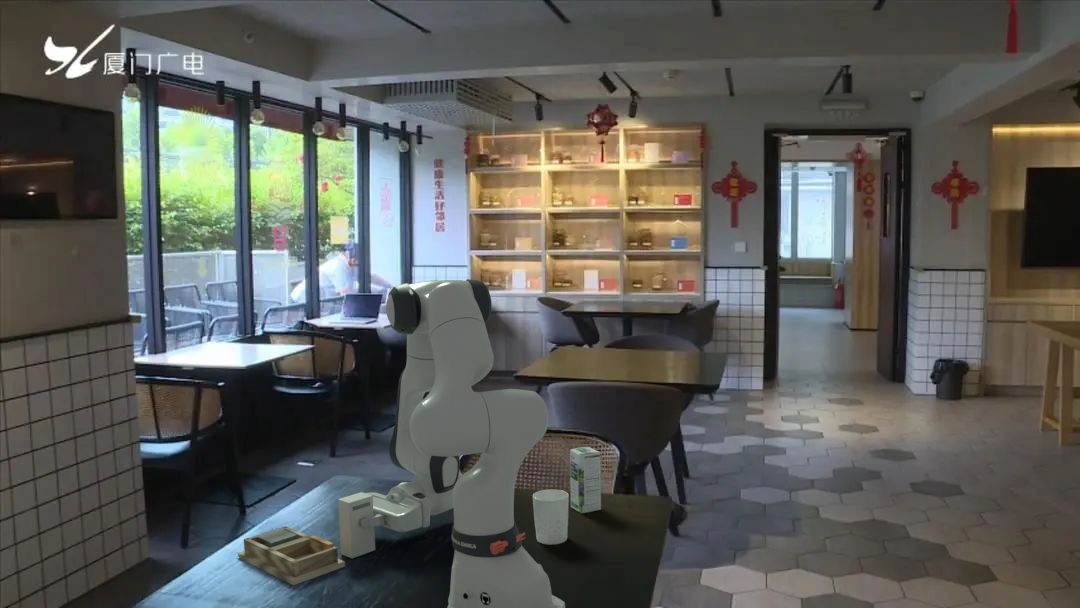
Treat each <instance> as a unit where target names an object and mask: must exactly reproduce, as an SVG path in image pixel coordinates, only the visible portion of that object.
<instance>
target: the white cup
mask: <svg viewBox="0 0 1080 608" xmlns="http://www.w3.org/2000/svg"><path fill="white" fill-rule="evenodd" d="M569 499H570V496H569V493H568V492H567V491H564V490H560V489H542V490H539V491H536V492H533V494H532V507H533V508H532V509H533V517H534V518H533V521H534V528H535V536H536V540H537V542H538V543H540V544H543V545H550V546H551V545H560V544H562V543H565V542H566V541H567V539H568V527H569V503H570V502H569Z"/></svg>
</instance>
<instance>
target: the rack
mask: <svg viewBox="0 0 1080 608" xmlns="http://www.w3.org/2000/svg"><path fill="white" fill-rule="evenodd" d="M243 547H244V548H243V549H244V551H240V552H238V553H237V557H239V558H238V559H240V558H241V559H240V560H242V561H244V560H245V561H244V562H246V561H247V562H246V563H248V564H250V565H252V566H254V567H256V568H258V569H261V570H262V571H264V572H266V573H268V574H270V575H272V576H273V577H276V578H278V579H279V580H282V581H284V582H286V583H288V584H290V585H292V586H296V585H298V584H302V583H303V582H307V581H309V580H312V579H315V578H317V577H320V576H322V575H326V574H329V573H331V572H333V571H336V570H339V569H342V568H344V567H346V561H344V560H343V559H340V558H339V556H338V547H337V546H334V542H331V541H329V540H326V539H325V538H321V537H319V536H317V535H312V536H310V535H307V534H305V533H303V532H301V531H298V530H296V529H294V528H291V527H288V526H283V527H278V528H276V529H272V530H269V531H266V532H263V533H260V534H256V535H253V536H249V537H247V538H244V539H243Z"/></svg>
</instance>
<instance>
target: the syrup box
mask: <svg viewBox="0 0 1080 608" xmlns="http://www.w3.org/2000/svg"><path fill="white" fill-rule="evenodd" d="M569 461H570V462H569V463H570V465H569V466H570V469H569V470H570V471H569V473H570V478H569V479H570V483H569V485H570V508H571V509H574V510H575V511H577V512H578V513H580V514H585V513H590V512H595V511H600V510H601V511H602V479H601V474H602V473H601V472H602V469H601V468H602V466H601V461H602V460H601V452H600V451H598V450H595V449H593V448H592V447H590V446H582V447H581V446H579V447H576V448H572V449H570V450H569Z"/></svg>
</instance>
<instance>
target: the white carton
mask: <svg viewBox="0 0 1080 608" xmlns="http://www.w3.org/2000/svg"><path fill="white" fill-rule="evenodd" d="M366 493H367V492H361V491H360V492H358V493H354V494H351V495H347V496H344V497H341V498H338V499H337V504H338V521H339V522H338V524H339V541H340V543H339V544H340V555H342V556H344V557H348V558H350V559H354V558H357V557H360V556H363V555H366V554H369V553H371V552H374V551H376V539H375V538H376V535H375V526H372V527H367V528H362V527H360V526H359V519H361V518H364V517H367V518H368V517H373V516H374V513H373V496H372V495H369V494H366Z"/></svg>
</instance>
